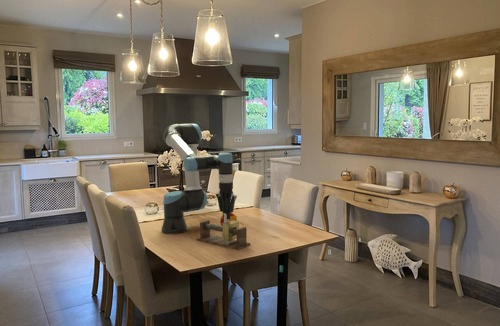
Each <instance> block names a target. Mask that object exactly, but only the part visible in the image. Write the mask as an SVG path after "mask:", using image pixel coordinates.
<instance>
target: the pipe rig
mask: <svg viewBox="0 0 500 326" xmlns="http://www.w3.org/2000/svg"><path fill="white" fill-rule="evenodd" d="M211 231H215V232H216V231H217V232H222V233H223V226H222V225H217V224H212V223H211V222H210V220H209V219H205V220H203V221H199V236H200V237H196V241H199V242H201V243H202V242H204V243H207V244H210V245H216V246H220V247H225V248H229V249H233V250H238V251H240V250H242V249H244V248H246V247H249V246H251V242H248V241H247V238H248V236H247V227H246V226H241V227H239V229H234V228H231V234H235V235H237V239H234V240H232V241H230V242H228V241H223V236H218V235H215V234H211Z"/></svg>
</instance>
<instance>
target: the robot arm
mask: <svg viewBox="0 0 500 326" xmlns="http://www.w3.org/2000/svg"><path fill="white" fill-rule="evenodd" d="M162 135H163V140H164V142H165V144H166V145H167V146H168V147H171V148H172V149H173V151H175V153H176V154H177V155H178V157H180V158H181V160H182V161H183V168H184V175H185V176H184V179H185V188H184V189H183V191H181V190H175V191H170V192H167V193H165V194H164V195H163V201H162V202H163V217H164V219H163V223H162V225H161V232H162V233H164V234H169V235H170V234H172V235H173V234H181V233H185V232H187V231H188V225H187V223H186V220H185V216H184V213H187V212H194V211H200V210H203V209H205V207H206V206H207V203H208V195H207V192H206V191H205V190H203V187H202V186H201V183H200V181H201V180H200V173H199V171H207V170H218V181H219V182H218V190H219V191H218V192H217V193H216V194H215V196H216V200H217V203H218V208H219V212H222V215H223V219H224V223H227V222H229V219H230V213H233V212H234V209H235V203H236V199H237V197H238V196H237V195H235V194H234V192H233V189H234V174H233V173H234V169H233V165H234V163H233V161H234V159H233V154H232V152H219V153H218V155H217V154H211V155H202V156H199V155H198V146H199V145H200V142H202V138H203V134H202V130H201V128H200V126H199V125H198V124H197V123H173V124H171V125H169V126H167V127H166V128H165V129H164V131H163V134H162Z"/></svg>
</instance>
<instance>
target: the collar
mask: <svg viewBox="0 0 500 326" xmlns="http://www.w3.org/2000/svg"><path fill="white" fill-rule="evenodd" d="M231 228H234V229H239V228H240V221H239V220H237V221H234V220H233V221H230V222H227V223H224V224H223V232H222V237H223V241H228V242H230V241H232V240H237V235H235V234H231Z"/></svg>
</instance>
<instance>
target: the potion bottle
mask: <svg viewBox="0 0 500 326" xmlns="http://www.w3.org/2000/svg"><path fill="white" fill-rule="evenodd" d="M237 217H238V216H237V215H236V214H235V213H233V212H231V213H230V219H229V222H230V221H233V220H234V221H238V219H237ZM219 223H220V226H223V224H224V219H223V214H222V215H221V216H220V221H219Z"/></svg>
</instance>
